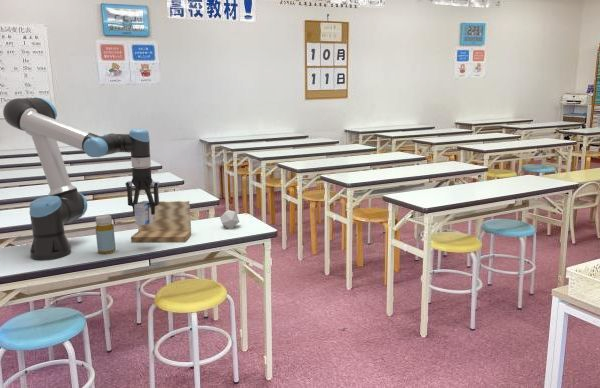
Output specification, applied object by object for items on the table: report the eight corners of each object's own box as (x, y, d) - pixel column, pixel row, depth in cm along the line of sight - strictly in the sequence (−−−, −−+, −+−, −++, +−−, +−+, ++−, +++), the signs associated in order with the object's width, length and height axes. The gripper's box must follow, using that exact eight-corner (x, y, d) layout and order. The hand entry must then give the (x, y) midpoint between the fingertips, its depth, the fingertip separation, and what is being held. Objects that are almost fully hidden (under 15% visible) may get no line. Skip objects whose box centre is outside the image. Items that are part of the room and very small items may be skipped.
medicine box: (144, 225, 210) (143, 205, 208) (135, 224, 211) (133, 204, 209) (153, 220, 218) (152, 200, 216) (144, 220, 218) (143, 200, 217)
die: (225, 225, 253) (214, 212, 246) (240, 216, 252) (230, 203, 246) (228, 235, 246) (218, 222, 240) (244, 226, 246) (234, 212, 240)
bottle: (117, 248, 217) (113, 214, 214) (114, 253, 210) (110, 218, 207) (99, 249, 216) (96, 215, 213) (96, 254, 209) (92, 219, 206)
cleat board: (131, 242, 225) (128, 207, 221) (139, 235, 236) (137, 201, 233) (185, 242, 224) (183, 206, 221) (191, 234, 235) (189, 201, 232)
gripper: (116, 168, 206) (120, 224, 211) (160, 168, 205) (163, 224, 210) (122, 165, 213) (126, 219, 218) (165, 166, 213) (168, 219, 218)
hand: (144, 221), depth 214 cm, fingers closed on medicine box, 5 cm apart
